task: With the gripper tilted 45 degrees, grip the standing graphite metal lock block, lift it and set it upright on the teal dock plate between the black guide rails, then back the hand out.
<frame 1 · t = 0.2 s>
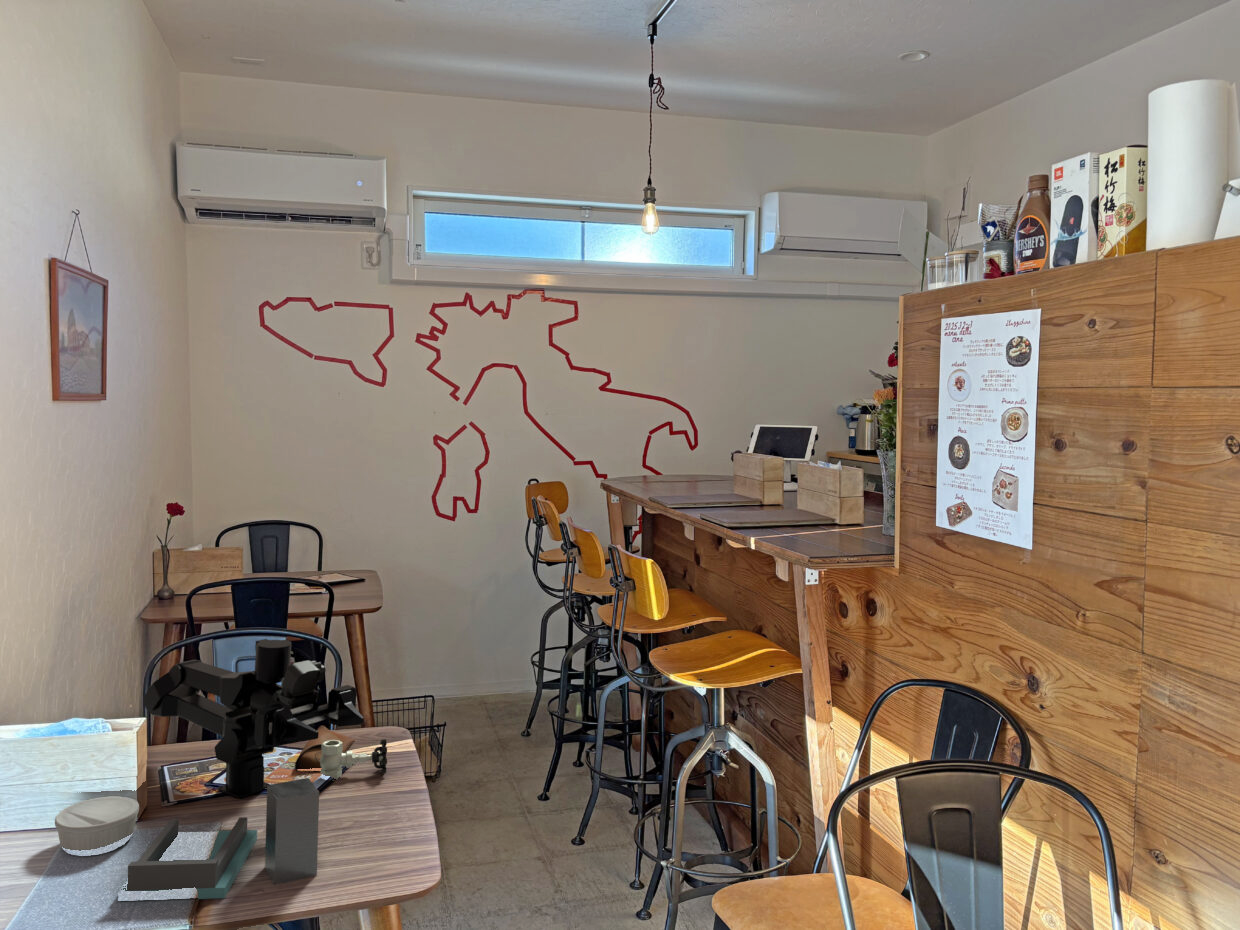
hand: (340, 728, 147), 17 cm above the table, tool horizontal, fingers open, 9 cm apart
dock plate: (183, 881, 129), on the table
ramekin: (97, 845, 139), on the table
lock block: (290, 871, 133), on the table
sunglasses case: (326, 758, 179), on the table
valve: (352, 776, 170), on the table
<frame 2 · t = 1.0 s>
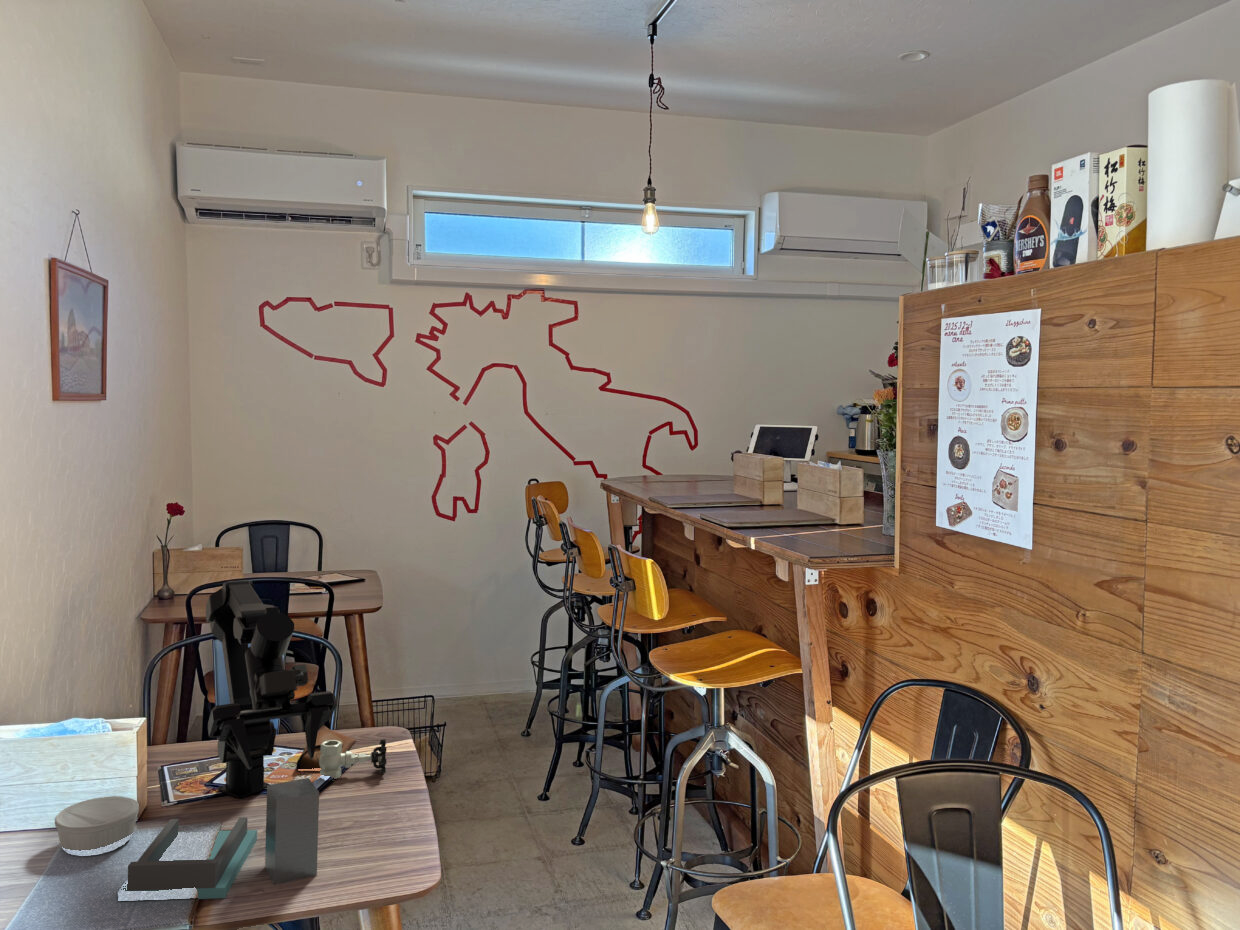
hand: (281, 762, 139), 14 cm above the table, tool tilted 45°, fingers open, 9 cm apart
nothing on the table moved.
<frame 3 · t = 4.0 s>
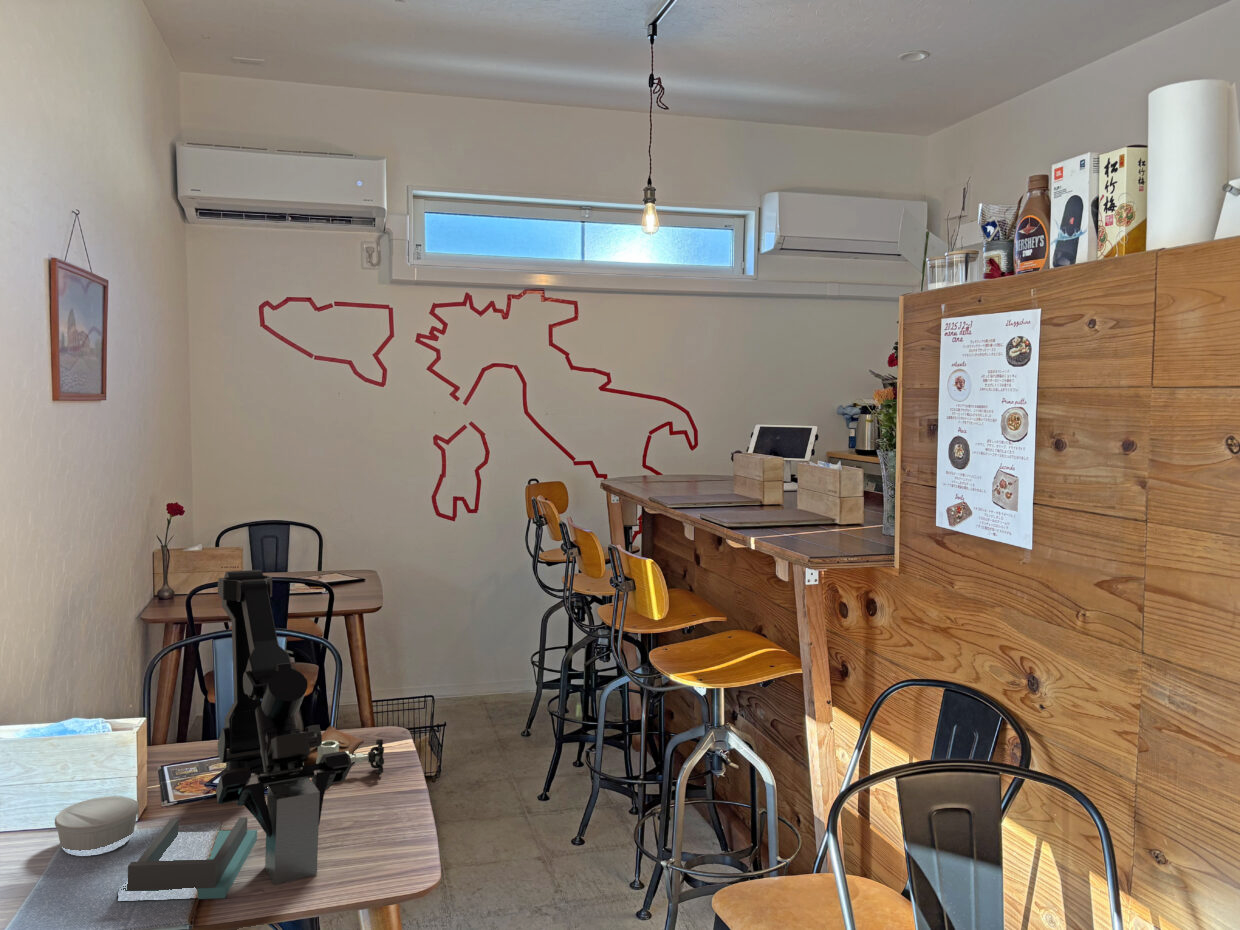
hand: (294, 831, 132), 7 cm above the table, tool tilted 45°, fingers closed on lock block, 6 cm apart
lock block: (290, 871, 133), on the table, touching gripper
sunglasses case: (333, 758, 179), on the table
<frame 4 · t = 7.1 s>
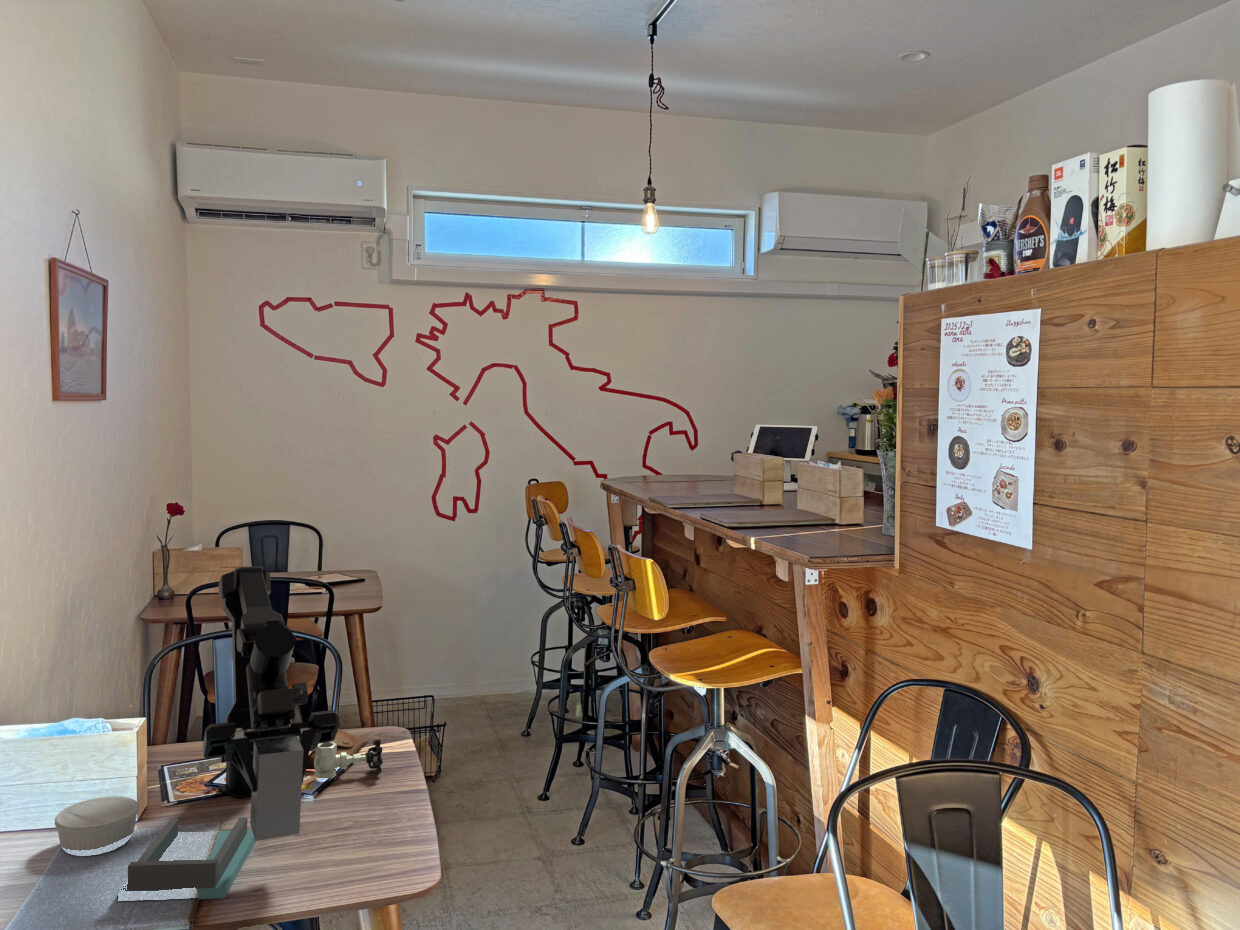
hand: (278, 787, 130), 13 cm above the table, tool tilted 45°, fingers closed on lock block, 6 cm apart
lock block: (274, 828, 132), point 7 cm above the table, touching gripper
when the fingers open (9 cm above the table, at t = 10.2 s): lock block drops 1 cm, resting on dock plate.
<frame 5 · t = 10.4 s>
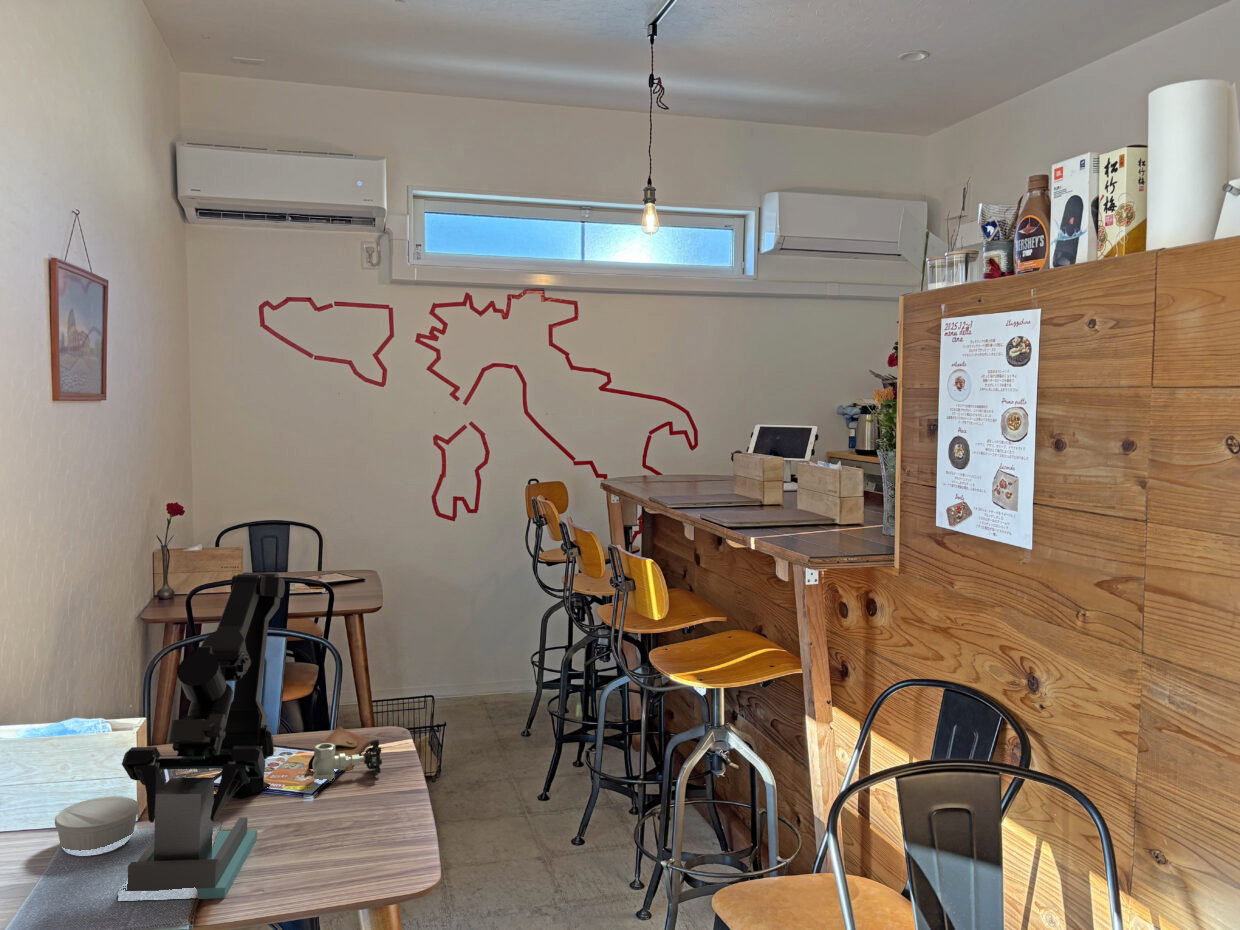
hand: (181, 820, 127), 10 cm above the table, tool tilted 45°, fingers open, 8 cm apart
lock block: (183, 871, 129), point 2 cm above the table, touching dock plate
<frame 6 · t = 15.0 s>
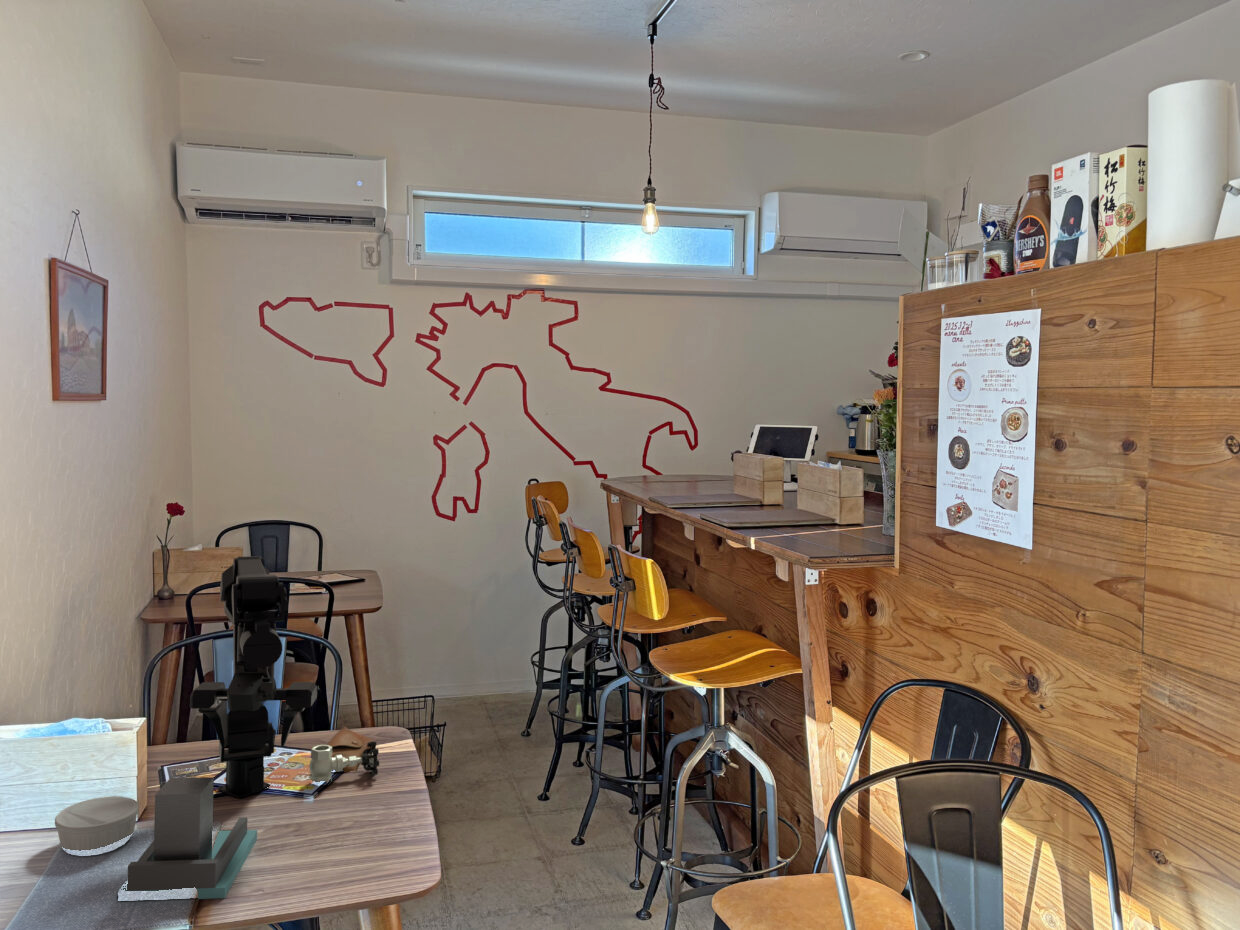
hand: (253, 746, 147), 13 cm above the table, tool pointing down, fingers open, 9 cm apart
at the end: lock block 0.1 cm from the dock plate (horizontally); lock block tilted 0°; the gripper is holding nothing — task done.
